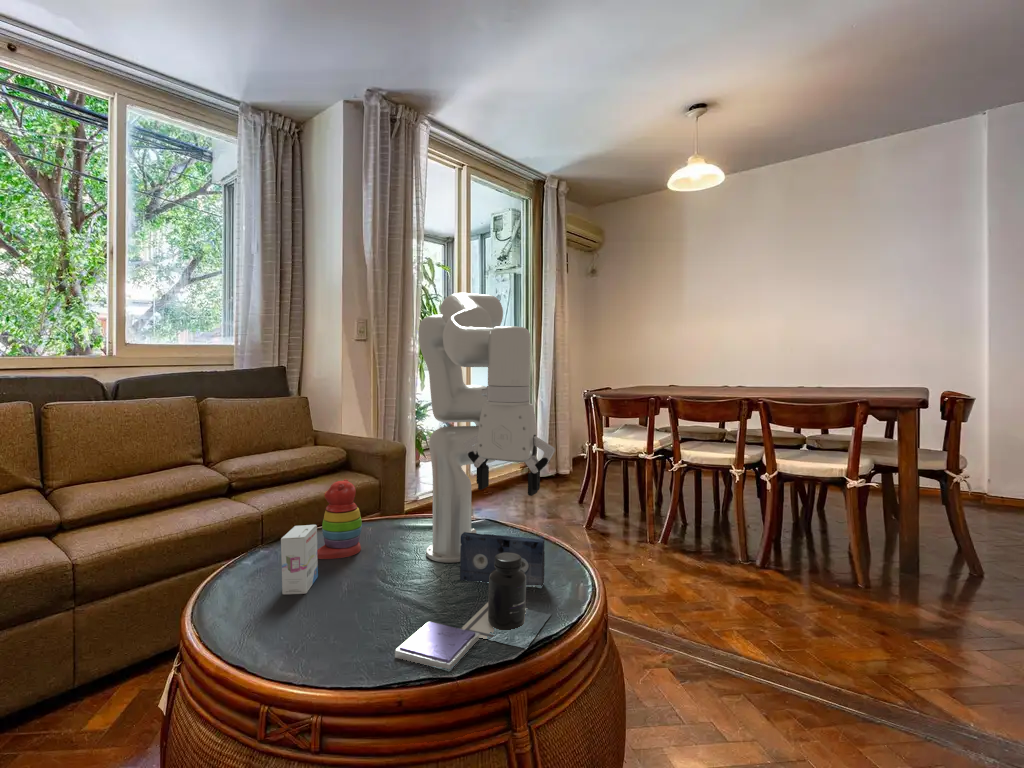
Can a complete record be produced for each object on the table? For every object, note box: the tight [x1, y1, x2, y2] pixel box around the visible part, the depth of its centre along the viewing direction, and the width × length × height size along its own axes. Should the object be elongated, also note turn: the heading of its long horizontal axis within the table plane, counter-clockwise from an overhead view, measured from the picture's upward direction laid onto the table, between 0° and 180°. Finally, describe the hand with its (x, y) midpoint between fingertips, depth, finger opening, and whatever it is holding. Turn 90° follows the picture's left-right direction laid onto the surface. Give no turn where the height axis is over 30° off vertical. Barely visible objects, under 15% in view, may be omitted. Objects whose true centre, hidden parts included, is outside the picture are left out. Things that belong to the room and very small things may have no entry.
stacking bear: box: [317, 478, 363, 560], centre depth 127 cm, size 11×10×18 cm
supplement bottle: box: [487, 552, 527, 630], centre depth 92 cm, size 7×7×12 cm
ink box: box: [280, 524, 319, 595], centre depth 107 cm, size 9×5×12 cm, turn 5°
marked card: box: [460, 602, 494, 640], centre depth 92 cm, size 13×13×1 cm
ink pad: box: [394, 621, 480, 669], centre depth 84 cm, size 10×10×2 cm
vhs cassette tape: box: [459, 532, 546, 586], centre depth 110 cm, size 18×3×10 cm, turn 76°
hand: (507, 491), depth 91 cm, fingers open, 9 cm apart
